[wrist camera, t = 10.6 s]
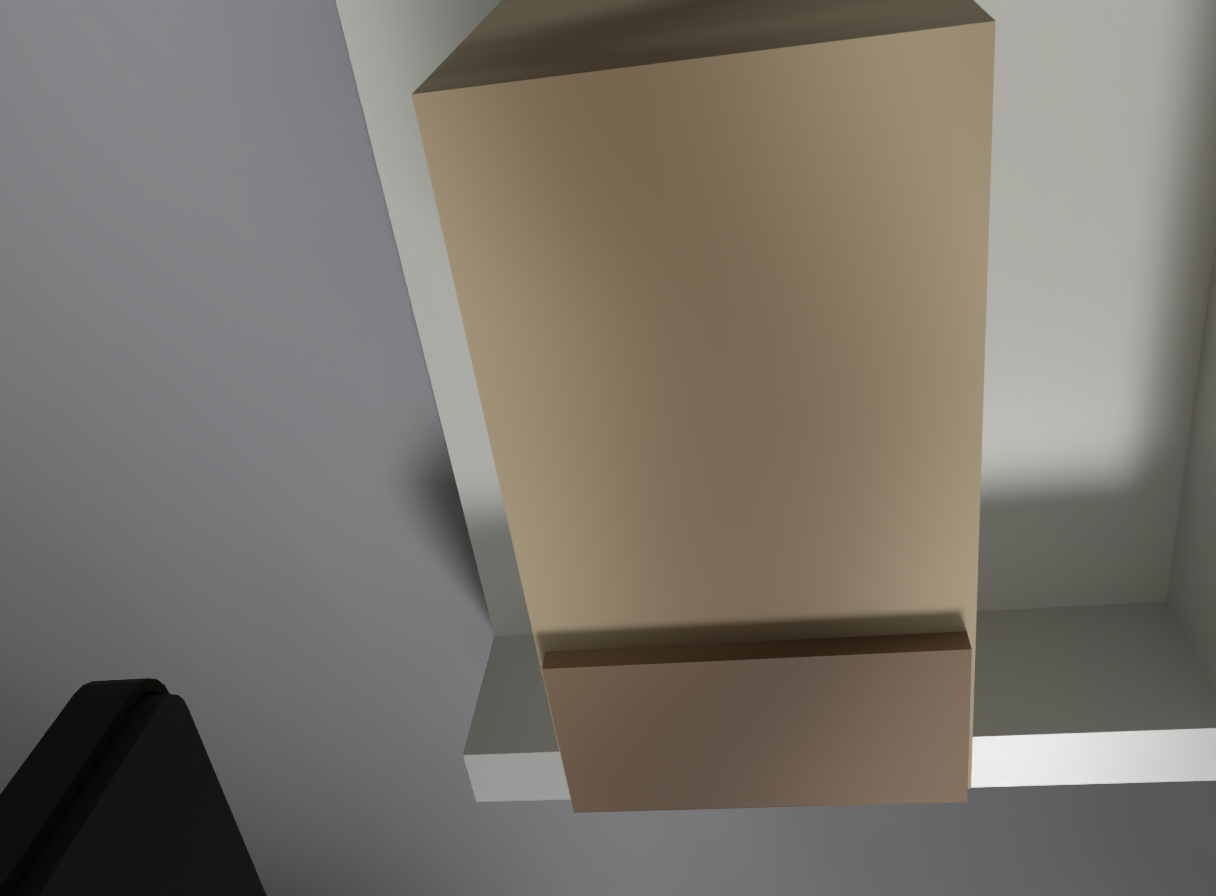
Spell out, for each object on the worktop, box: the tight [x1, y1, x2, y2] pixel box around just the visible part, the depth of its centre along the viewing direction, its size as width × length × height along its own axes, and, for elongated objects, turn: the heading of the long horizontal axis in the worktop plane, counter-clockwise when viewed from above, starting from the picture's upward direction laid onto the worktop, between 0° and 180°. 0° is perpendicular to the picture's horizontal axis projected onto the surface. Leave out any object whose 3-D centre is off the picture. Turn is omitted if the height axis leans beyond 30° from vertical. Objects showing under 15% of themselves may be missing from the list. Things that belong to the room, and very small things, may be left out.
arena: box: [336, 0, 1216, 802], centre depth 17 cm, size 15×14×4 cm
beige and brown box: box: [412, 0, 996, 813], centre depth 15 cm, size 5×9×7 cm, turn 8°
